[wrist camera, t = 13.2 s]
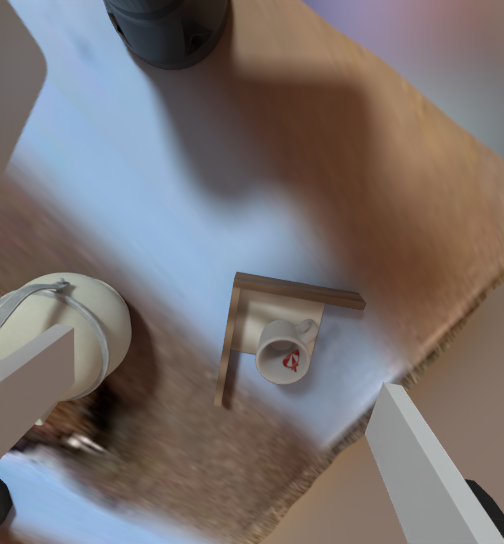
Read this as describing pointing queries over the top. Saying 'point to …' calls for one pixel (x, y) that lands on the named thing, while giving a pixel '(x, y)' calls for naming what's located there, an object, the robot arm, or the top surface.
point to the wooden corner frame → (273, 312)
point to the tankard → (4, 501)
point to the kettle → (70, 312)
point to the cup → (285, 350)
